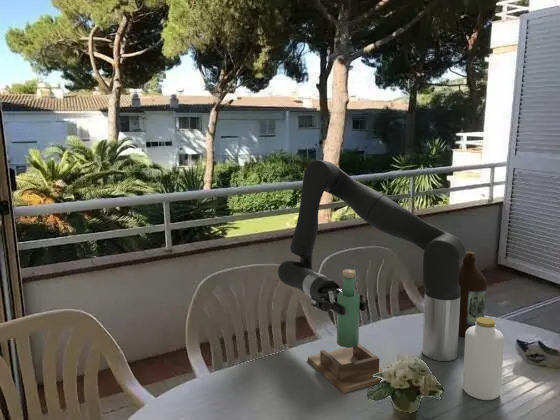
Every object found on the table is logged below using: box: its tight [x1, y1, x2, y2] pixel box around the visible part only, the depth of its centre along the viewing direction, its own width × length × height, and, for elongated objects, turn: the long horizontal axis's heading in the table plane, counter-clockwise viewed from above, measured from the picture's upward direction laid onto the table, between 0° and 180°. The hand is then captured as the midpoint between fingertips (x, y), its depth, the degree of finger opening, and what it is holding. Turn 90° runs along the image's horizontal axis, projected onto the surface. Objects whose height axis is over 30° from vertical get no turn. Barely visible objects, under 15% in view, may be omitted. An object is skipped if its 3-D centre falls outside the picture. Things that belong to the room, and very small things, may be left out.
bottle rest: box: [307, 343, 384, 394], centre depth 122 cm, size 18×14×4 cm
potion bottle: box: [462, 316, 505, 401], centre depth 110 cm, size 8×8×18 cm
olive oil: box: [458, 250, 488, 338], centre depth 143 cm, size 11×11×25 cm
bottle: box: [336, 268, 360, 348], centre depth 120 cm, size 6×6×19 cm
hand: (353, 309), depth 118 cm, fingers closed on bottle, 5 cm apart
